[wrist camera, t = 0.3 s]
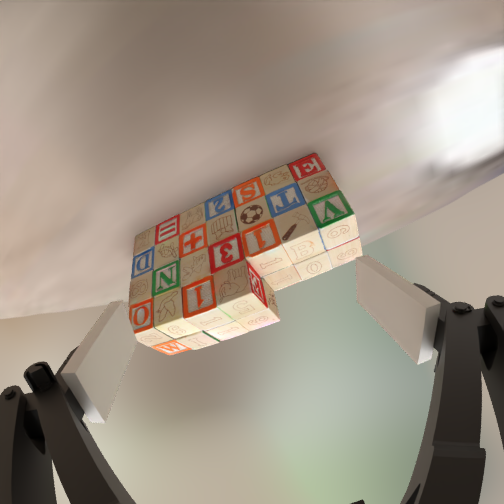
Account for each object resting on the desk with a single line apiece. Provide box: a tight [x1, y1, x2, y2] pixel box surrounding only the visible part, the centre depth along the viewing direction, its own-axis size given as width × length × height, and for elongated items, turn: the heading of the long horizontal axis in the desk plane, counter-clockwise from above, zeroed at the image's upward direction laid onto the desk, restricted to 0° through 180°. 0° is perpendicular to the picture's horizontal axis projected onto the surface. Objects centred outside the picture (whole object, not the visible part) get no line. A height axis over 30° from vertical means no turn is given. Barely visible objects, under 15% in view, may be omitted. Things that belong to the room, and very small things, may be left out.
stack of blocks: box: [129, 153, 362, 355], centre depth 27 cm, size 21×6×12 cm, turn 114°
